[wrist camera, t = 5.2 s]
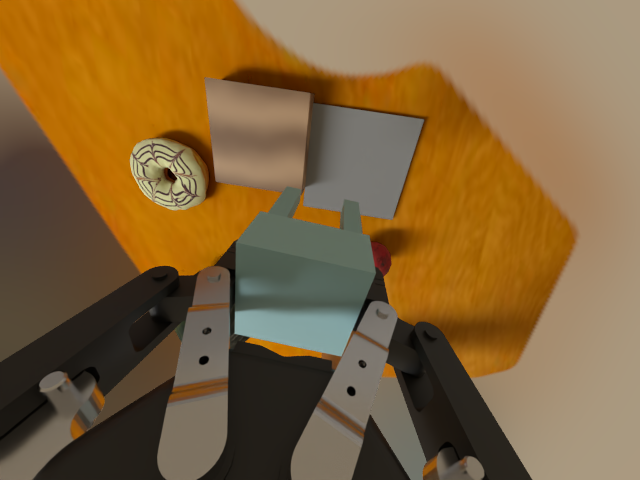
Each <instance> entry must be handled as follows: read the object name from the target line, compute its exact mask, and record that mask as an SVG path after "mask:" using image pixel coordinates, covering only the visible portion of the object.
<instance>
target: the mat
mask: <svg viewBox="0 0 640 480" xmlns="http://www.w3.org/2000/svg"><path fill="white" fill-rule="evenodd" d="M423 122H424V119H419V118H412V117H405V116H398V115H392V114H385V113H378V112H372V111H365V110H358V109H351V108H345V107H338V106H331V105H324V104H318V103H313V110H312V120H311V131H310V141H309V151H308V162H307V172H306V183H305V193H304V204H303V206H308V207H314V208H320V209H327V210H333V211H339V212H341V210H342V206H343V202H344V199H346V200H350V201H355V202H359V209H360V215H365V216H371V217H377V218H384V219H390V220H392V219H393V216H394V213H395V210H396V207H397V204H398V200H399V197H400V194H401V191H402V188H403V185H404V182H405V178H406V175H407V172H408V169H409V166H410V163H411V160H412V157H413V153H414V150H415V147H416V144H417V141H418V138H419V135H420V131H421V128H422V125H423Z"/></svg>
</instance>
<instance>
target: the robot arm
mask: <svg viewBox="0 0 640 480" xmlns="http://www.w3.org/2000/svg"><path fill="white" fill-rule="evenodd" d="M237 241H238V240H236V241H234V242H233V244H232V245H231V246H230V248H229V249H228V250H227V252H225V254H224V255H223V256H222V257H221V258H220V260H219V261H218V262H217V263H216V265H215V266H212V267H207V268H205V269H203V270H202V271H200V272H199V274H198V275H191V276H179V275H178V271H177V270H176V269H175V268H173V267H170V266H158V267H154V268H151V269H149V270H147V271H146V272H144V273H142V274H141V275H139V276H138V277H136V278H134V279H133V280H131V281H130V282H128V283H126V284H125V285H123V286H122V287H120V288H118V289H117V290H115V291H114V292H112V293H111V294H109V295H107V296H106V297H104V298H103V299H101V300H99V301H98V302H96V303H94V304H93V305H91V306H90V307H88V308H86V309H85V310H83V311H82V312H80V313H78V314H77V315H75V316H74V317H72V318H70V319H69V320H67V321H66V322H64V323H62V324H61V325H59V326H58V327H56V328H54V329H53V330H51V331H50V332H48V333H46V334H45V335H44V336H42V337H40V338H38V339H37V340H35V341H34V342H32V343H30V344H29V345H27V346H26V347H24V348H22V349H21V350H19V351H18V352H16V353H14V354H13V355H11V356H10V357H8V358H6V359H5V360H3V361H2V362H0V480H410V478H409V476H408V475H407V473H406V472H405V470H404V468H403V467H402V465H401V463H400V462H399V460H398V459H397V457H396V455H395V454H394V452H393V450H392V449H391V447H390V446H389V444H388V442H387V441H386V439H385V438H384V436H383V434H382V433H381V431H380V429H379V428H378V426H377V425H376V423H375V421H374V420H373V418H372V416H371V415H370V412H371V408H372V405H373V402H374V399H375V396H376V392H377V389H378V386H379V383H380V379H381V376H382V373H383V370H384V367H385V363H388V364H390V365H392V366H393V367H394V371H395V373H396V376H397V379H398V382H399V384H400V387H401V390H402V393H403V396H404V398H405V401H406V404H407V407H408V410H409V413H410V416H411V418H412V421H413V424H414V427H415V429H416V432H417V435H418V438H419V441H420V443H421V446H422V449H423V452H424V455H425V457H426V461H427V463H426V464H425V466H424V469H423V480H532V479H531V477H530V475H529V474H528V472H527V471H526V469H525V467H524V466H523V464H522V462H521V461H520V459H519V457H518V456H517V454H516V452H515V451H514V449H513V447H512V446H511V444H510V443H509V441H508V439H507V438H506V436H505V434H504V433H503V432H502V429H501V428H500V426H499V425H498V423H497V421H496V420H495V418H494V416H493V415H492V413H491V412H490V410H489V408H488V406H487V405H486V403H485V402H484V400H483V398H482V397H481V395H480V393H479V392H478V390H477V388H476V387H475V385H474V383H473V382H472V380H471V379H470V377H469V375H468V374H467V372H466V370H465V369H464V367H463V365H462V364H461V362H460V360H459V359H458V357H457V356H456V354H455V352H454V351H453V349H452V347H451V346H450V344H449V342H448V341H447V339H446V338H445V336H444V334H443V333H442V332H441V331H440V330H439V329H438V328H437V327H435V326H434V325H432V324H430V323H427V322H419V323H417V324H416V325H415V326H413V325H410V324H408V323H406V322H404V321H402V320H401V319H399V318H398V317H397V313H396V311H395V310H394V309H393V307H391V306H390V305H389V302H388V297H387V292H386V288H385V283H384V278H383V274H382V272H381V271H380V270H379V268H378V267H375V271H376V274H375V277H374V279H373V282H372V284H371V287H370V289H369V291H368V294H367V296H366V299H365V301H364V303H363V306H362V308H361V311H360V313H359V316H358V318H357V320H356V323H355V325H354V328H353V330H352V332H351V335H350V337H349V340H348V342H347V345H346V347H345V349H344V352H343V354H342V357H341V356H336V355H332V354H327V353H322V358H317V357H312V356H292V357H284V356H281V355H279V354H277V353H275V352H273V351H271V350H269V349H267V348H265V347H263V346H260V345H256V344H251V343H246V342H241V341H237V343H236V345H235V348H230V311H231V309H232V307H233V305H235V274H236V242H237ZM147 311H148V312H147ZM146 312H147V313H146ZM145 313H146V314H145ZM144 314H145V315H144ZM142 315H143V316H142ZM141 316H142V317H141ZM140 317H141V318H140ZM139 318H140V319H139ZM137 319H138V320H137ZM136 320H137V321H136ZM135 321H136V322H135ZM182 321H186V323H185V328H184V334H183V339H182V344H181V349H180V354H179V360H178V365H177V370H176V375H175V376H174V377H172V378H171V379H169V380H167V381H166V382H164V383H163V384H161V385H160V386H158V387H156V388H155V389H153V390H152V391H150V392H149V393H147V394H145V395H144V396H142V397H141V398H139V399H138V400H136V401H134V402H133V403H131V404H130V405H128V406H126V407H125V408H123V409H122V410H120V411H118V412H117V413H115V414H114V415H112V416H111V417H109V418H107V419H106V420H105V421H103V422H101V423H100V424H98V425H96V426H95V427H93V428H92V429H90V430H88V429H89V428H90V427H91V426H92V425H93V423H94V421H95V418H96V417H97V416H98V415H99V413H100V412H101V410H102V408H103V405H104V401H105V399H104V396H105V395H106V394H108V393H109V392H110V391H111V389H113V388H114V387H115V386H116V385H117V384H118V383H119V382H120V381H121V380H122V379H123V378H124V377H125V376H126V375H127V374H128V373H129V372H130V371H131V370H132V369H133V368H135V367H136V366H137V365H138V364H139V363H140V361H142V360H143V359H144V358H145V357H146V356H147V355H148V354H149V353H150V352H151V351H152V350H153V349H154V348H155V347H156V346H157V345H158V344H159V343H160V342H161V341H162V340H163V339H165V338H166V337H167V336H168V335H169V334H170V333H171V332H172V331H173V330H174V329H175V328H176V327H177V326H178V325H179V324H180V323H181V322H182ZM134 322H135V323H134ZM87 430H88V431H87ZM86 431H87V432H86Z"/></svg>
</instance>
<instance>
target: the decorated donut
mask: <svg viewBox="0 0 640 480" xmlns="http://www.w3.org/2000/svg"><path fill="white" fill-rule="evenodd" d="M130 166H131V171H132V174H133V176H134V178H135V180H136V181H137V184H138V185H139V187H140V189H141V190H142V192H143V193H144V194H145V195H146V196H147V197H148V198H150V199H151V200H152V201H153V202H155V203H157V204H159V205H161V206H164V207H166V208H168V209H171V210H179V209H183V210H187V209H188V208H190V207H192V206H195V205H198V204H200V203H202V202H203V201H204V200H205V198H206V191H207V188H208V183H209V172H208V168H207V165H206V164H205V163H204V162H203V160H202V159H201V157H200V156H199V155H198V154H197V152H196V151H195V150H194V149H192V148H190V147H188V146H186V145H184V144H182V143H180V142H177V141H175V140H171V139H167V138H150V139H146V140H143V141H141V142H139V143H138V144H136V146H135V147H134V150H133V151H132V153H131V158H130ZM168 169H170V170H171V171H172V172H173V173H174V175H175V176H176V177H177V180H176V181H174V180H173V179H171V178H170V177H169V176H168Z"/></svg>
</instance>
